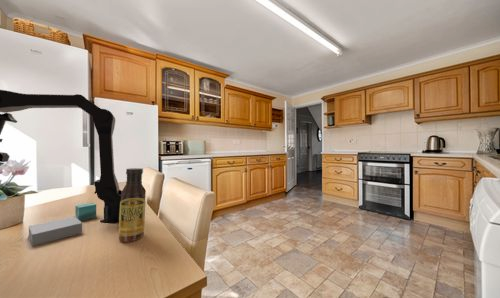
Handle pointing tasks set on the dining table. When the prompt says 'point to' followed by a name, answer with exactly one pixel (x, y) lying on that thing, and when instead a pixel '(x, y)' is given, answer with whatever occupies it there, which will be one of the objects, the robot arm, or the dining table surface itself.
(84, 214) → the teal cube
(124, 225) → the sauce bottle
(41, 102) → the robot arm
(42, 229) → the gray plinth
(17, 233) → the dining table surface
